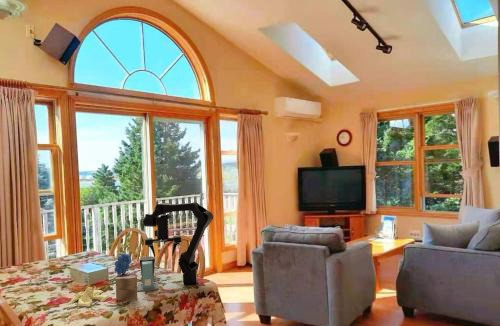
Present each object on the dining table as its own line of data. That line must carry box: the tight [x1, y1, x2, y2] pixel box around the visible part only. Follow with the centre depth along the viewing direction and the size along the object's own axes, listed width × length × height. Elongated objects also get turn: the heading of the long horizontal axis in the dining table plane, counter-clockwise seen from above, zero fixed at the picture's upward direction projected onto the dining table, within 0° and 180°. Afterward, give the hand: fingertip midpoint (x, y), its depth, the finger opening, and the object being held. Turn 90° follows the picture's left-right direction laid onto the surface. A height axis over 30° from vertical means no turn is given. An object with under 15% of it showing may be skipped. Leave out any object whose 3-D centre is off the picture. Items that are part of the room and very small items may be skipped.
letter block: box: [141, 261, 154, 288], centre depth 196 cm, size 5×5×12 cm
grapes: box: [113, 252, 132, 276], centre depth 222 cm, size 12×7×12 cm, turn 149°
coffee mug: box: [138, 255, 156, 277], centre depth 217 cm, size 12×9×10 cm
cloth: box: [66, 286, 111, 307], centre depth 182 cm, size 22×19×6 cm
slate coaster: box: [137, 282, 159, 293], centre depth 196 cm, size 10×10×1 cm
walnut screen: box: [115, 275, 138, 302], centre depth 181 cm, size 9×2×10 cm, turn 95°
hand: (163, 256), depth 206 cm, fingers open, 9 cm apart
